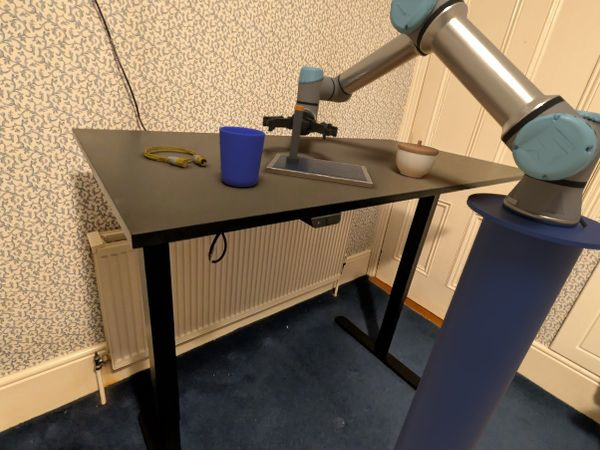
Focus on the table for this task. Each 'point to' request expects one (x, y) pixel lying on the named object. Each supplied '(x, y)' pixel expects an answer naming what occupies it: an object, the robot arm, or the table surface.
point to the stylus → (295, 135)
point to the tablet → (321, 170)
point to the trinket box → (415, 159)
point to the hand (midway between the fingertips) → (297, 130)
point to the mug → (240, 155)
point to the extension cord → (176, 160)
